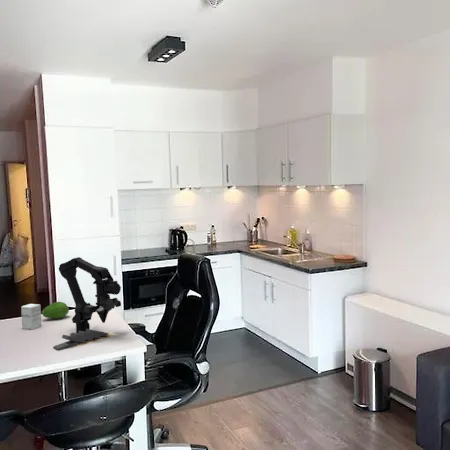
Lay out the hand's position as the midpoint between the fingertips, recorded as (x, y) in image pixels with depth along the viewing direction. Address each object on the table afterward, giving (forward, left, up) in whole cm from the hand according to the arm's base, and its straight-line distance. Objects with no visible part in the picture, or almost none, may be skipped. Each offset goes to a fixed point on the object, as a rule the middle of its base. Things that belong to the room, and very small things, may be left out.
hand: (103, 322), depth 239 cm
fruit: (-26, +47, -8) cm, 54 cm away
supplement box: (-38, +33, -8) cm, 51 cm away
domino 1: (-14, -8, -6) cm, 18 cm away
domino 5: (0, 0, -6) cm, 6 cm away
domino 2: (-11, -6, -6) cm, 14 cm away
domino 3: (-7, -4, -6) cm, 10 cm away
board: (-6, -3, -8) cm, 10 cm away
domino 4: (-3, -2, -6) cm, 7 cm away
